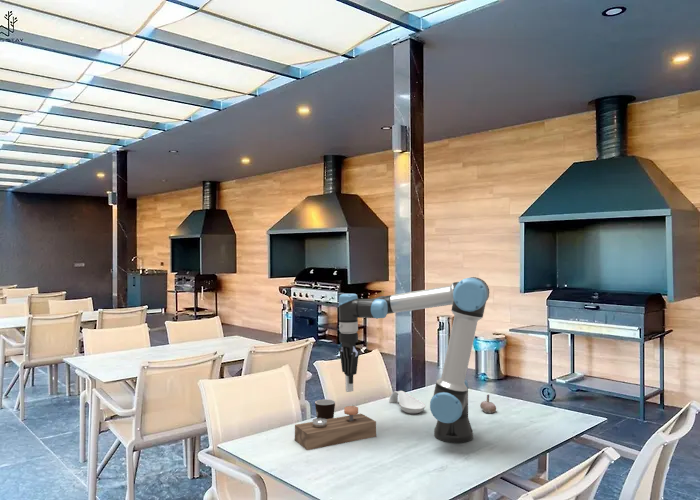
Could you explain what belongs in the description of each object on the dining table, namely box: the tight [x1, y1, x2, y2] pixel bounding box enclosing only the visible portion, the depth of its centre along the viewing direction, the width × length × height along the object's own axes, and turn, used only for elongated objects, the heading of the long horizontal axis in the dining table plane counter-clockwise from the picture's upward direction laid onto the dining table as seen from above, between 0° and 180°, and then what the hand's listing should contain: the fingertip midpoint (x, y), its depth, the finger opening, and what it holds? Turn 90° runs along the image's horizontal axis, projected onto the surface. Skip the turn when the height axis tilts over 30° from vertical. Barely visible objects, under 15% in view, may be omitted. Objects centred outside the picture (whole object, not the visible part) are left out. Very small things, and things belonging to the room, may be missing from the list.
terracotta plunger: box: [343, 405, 359, 422], centre depth 206 cm, size 6×6×8 cm
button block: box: [294, 413, 377, 451], centre depth 203 cm, size 12×30×6 cm, turn 119°
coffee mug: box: [314, 398, 336, 419], centre depth 220 cm, size 12×9×10 cm
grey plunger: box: [312, 417, 327, 428], centre depth 200 cm, size 6×6×8 cm
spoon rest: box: [389, 390, 426, 415], centre depth 243 cm, size 24×12×7 cm, turn 27°
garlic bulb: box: [480, 394, 497, 414], centre depth 238 cm, size 8×7×8 cm
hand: (349, 391), depth 206 cm, fingers closed
